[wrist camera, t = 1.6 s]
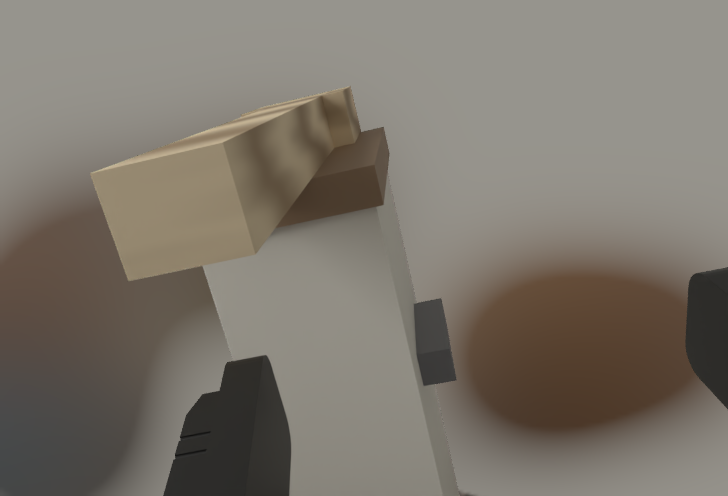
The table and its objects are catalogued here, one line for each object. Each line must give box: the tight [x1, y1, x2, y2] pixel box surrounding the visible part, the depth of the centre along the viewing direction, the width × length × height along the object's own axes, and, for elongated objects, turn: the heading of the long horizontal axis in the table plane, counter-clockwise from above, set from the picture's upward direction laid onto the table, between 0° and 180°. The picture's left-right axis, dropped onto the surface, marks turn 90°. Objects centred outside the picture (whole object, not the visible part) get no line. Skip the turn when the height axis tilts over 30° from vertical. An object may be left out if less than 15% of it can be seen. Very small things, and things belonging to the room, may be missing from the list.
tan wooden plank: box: [90, 86, 361, 281], centre depth 24 cm, size 22×5×2 cm, turn 177°
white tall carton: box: [203, 127, 460, 496], centre depth 33 cm, size 13×9×32 cm
